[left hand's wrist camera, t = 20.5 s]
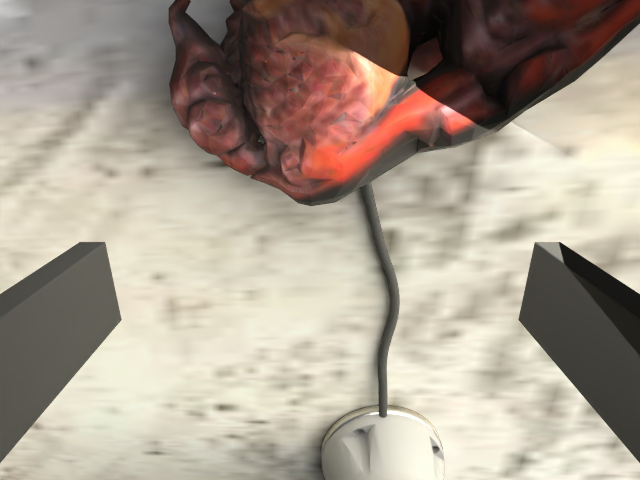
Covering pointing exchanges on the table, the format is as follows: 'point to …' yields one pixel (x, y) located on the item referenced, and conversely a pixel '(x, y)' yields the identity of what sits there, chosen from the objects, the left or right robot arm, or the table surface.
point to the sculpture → (373, 80)
